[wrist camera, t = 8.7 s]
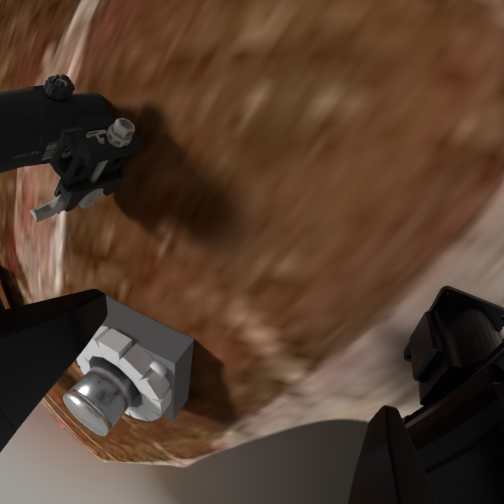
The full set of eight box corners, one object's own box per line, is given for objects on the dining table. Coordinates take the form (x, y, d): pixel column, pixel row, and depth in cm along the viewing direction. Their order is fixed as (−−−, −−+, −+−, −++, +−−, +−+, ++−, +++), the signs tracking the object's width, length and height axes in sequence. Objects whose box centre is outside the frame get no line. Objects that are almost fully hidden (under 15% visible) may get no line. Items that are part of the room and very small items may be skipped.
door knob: (115, 343, 26) (67, 390, 20) (154, 381, 26) (112, 433, 20) (101, 359, 28) (59, 401, 22) (135, 393, 28) (98, 438, 22)
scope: (-34, 270, 12) (-74, 161, 11) (109, 200, 24) (55, 126, 23) (-29, 167, 8) (-60, 60, 7) (159, 127, 20) (93, 54, 19)
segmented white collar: (194, 337, 26) (162, 377, 22) (187, 400, 31) (164, 435, 27) (101, 290, 29) (65, 318, 24) (110, 357, 34) (83, 385, 29)
